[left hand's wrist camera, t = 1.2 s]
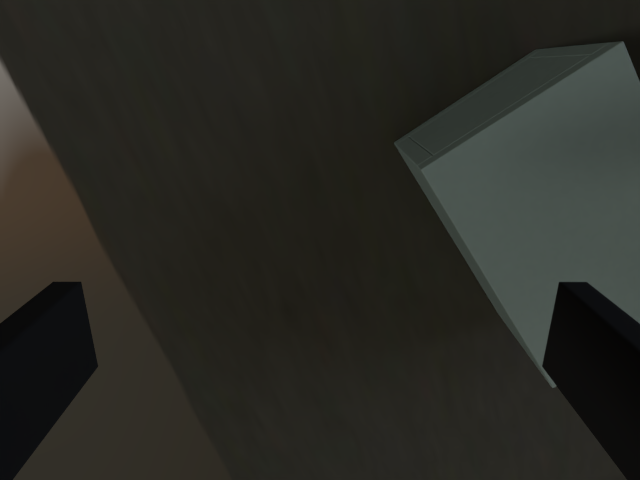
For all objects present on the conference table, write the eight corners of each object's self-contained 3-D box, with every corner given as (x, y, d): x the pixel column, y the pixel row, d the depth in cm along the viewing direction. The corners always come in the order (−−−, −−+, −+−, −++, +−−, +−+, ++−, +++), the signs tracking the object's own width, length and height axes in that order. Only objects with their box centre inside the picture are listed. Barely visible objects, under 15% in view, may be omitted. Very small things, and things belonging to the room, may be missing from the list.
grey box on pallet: (627, 243, 37) (729, 301, 27) (498, 313, 39) (552, 388, 30) (535, 48, 32) (623, 40, 22) (393, 142, 34) (420, 169, 25)
